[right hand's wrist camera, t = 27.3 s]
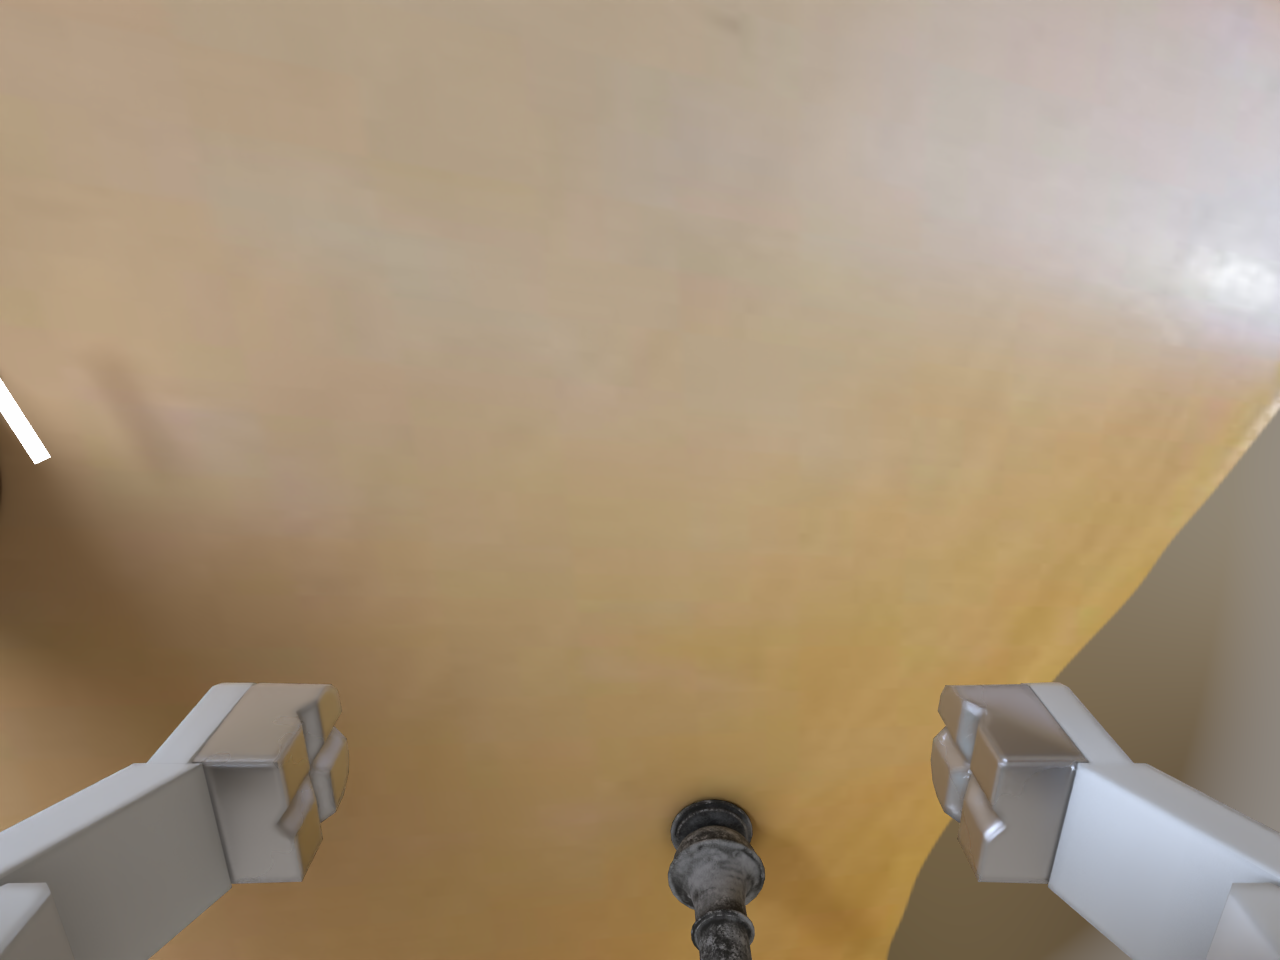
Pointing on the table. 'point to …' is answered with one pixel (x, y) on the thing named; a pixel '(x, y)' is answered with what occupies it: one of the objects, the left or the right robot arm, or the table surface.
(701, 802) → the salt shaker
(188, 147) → the table surface
